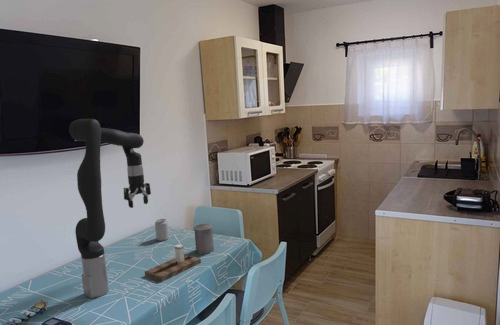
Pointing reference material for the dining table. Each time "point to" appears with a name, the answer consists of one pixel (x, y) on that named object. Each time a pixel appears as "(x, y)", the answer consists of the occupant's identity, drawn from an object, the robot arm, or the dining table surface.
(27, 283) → the dining table surface
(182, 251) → the fader tab
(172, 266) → the fader console
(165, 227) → the can
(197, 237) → the pillar candle
